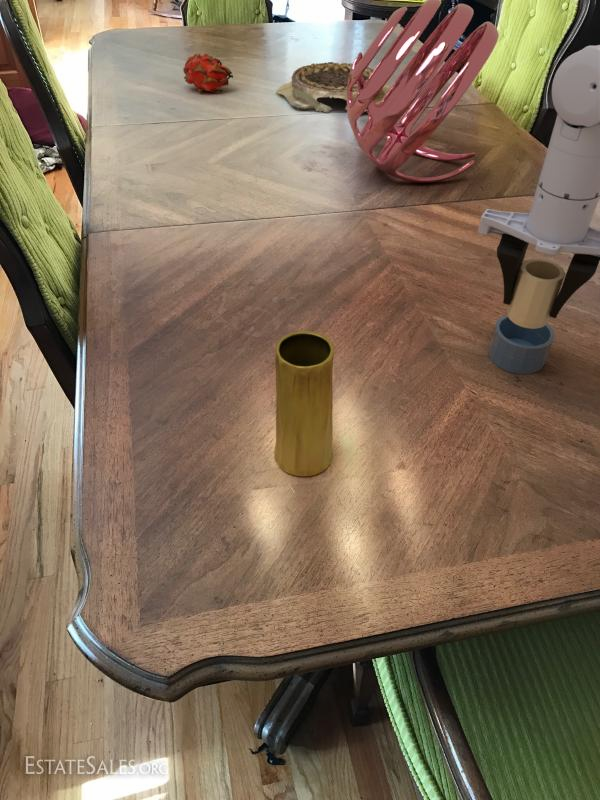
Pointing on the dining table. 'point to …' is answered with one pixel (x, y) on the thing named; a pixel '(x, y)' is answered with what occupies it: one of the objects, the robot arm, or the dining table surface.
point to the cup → (535, 293)
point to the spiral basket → (416, 86)
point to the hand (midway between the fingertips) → (530, 306)
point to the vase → (304, 403)
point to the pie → (322, 85)
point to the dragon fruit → (206, 73)
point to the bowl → (520, 346)
